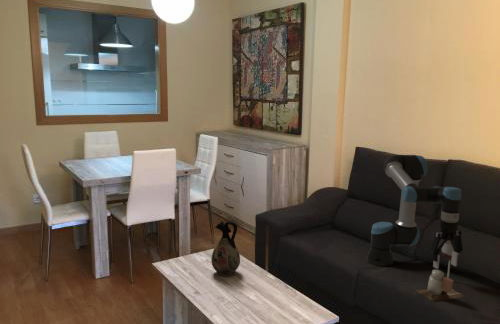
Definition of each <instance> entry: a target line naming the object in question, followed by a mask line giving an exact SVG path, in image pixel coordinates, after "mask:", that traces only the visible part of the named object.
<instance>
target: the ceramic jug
mask: <svg viewBox="0 0 500 324" xmlns="http://www.w3.org/2000/svg"><path fill="white" fill-rule="evenodd" d="M230 225H231V226H232V227H233V230H231V228H230V227H229V226H230ZM214 229H217V230H219V231H220V232H222V236H221V238H220V239H219V240H218V241H217V243H216V245H214V248H213V251H212V254H211V261H210V262H211V266H212V268H213V269H214V270H215V271H216V274H217V275H218V276H219V277H226V278H227V277H231V276H234V275H235V274H236V273H235V272H236V271H237V269H238V268H239V267H240V264H241V255H240V252H239V249H238V247H237V246H236V242H235V237H236V235H237V232H238V225H237V223H236V222H235V221H233V220H226V222H224V221H221V222H220V223H217V225H216V226H215V227H214ZM230 233H232V235H231V236H230Z"/></svg>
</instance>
